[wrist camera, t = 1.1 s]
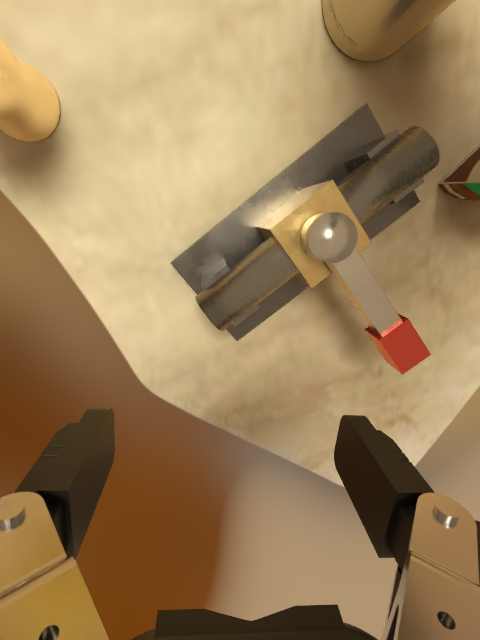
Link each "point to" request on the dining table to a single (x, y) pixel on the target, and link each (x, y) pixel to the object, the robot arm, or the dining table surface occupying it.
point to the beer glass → (25, 99)
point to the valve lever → (363, 288)
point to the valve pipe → (304, 219)
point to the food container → (464, 178)
